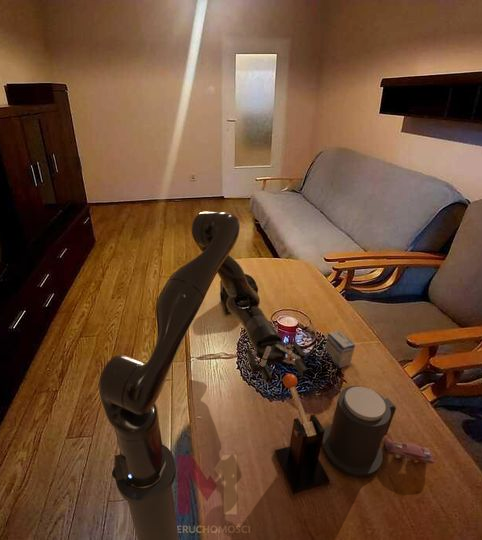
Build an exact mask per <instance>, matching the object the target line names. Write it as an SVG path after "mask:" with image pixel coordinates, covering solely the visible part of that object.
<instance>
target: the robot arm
mask: <svg viewBox="0 0 482 540" xmlns="http://www.w3.org/2000/svg"><path fill="white" fill-rule="evenodd" d="M240 229H241V224H240V220H239V218H238V216H237V215H235V214H233V213H229V212H220V211H219V212H217V211H215V212H214V211H202V212H199V213H197V214H196V215H195V217H194V218H193V221H192V224H191V234H192V235H191V236H192V238H193V241H194V243H195V244H196V245H197V247H198V248H199V250H200V251H201V253H199V254H198V255H197V256H195V257H194V258H192V259H191V260H189V261H188V262H186V263H185V264H183V265H182V266H181V267H179V268H178V269H177V270H175V271H174V272H173V273H172V274H171V275H170V276H169V278H168V279H167V281H166V283H165V284H164V286H163V288H162V290H161V291H160V293H159V295H158V297H157V299H156V305H155V317H156V327H157V328H156V330H157V337H156V343H155V346H154V348H153V350H152V353H151V356H150V357H149V359H148V361H147V362H145V361H143V360H140V359H137V358H135V357H132V356H129V355H126V354H118V355H115V356H113V357H112V358H111V359H109V361H107V362H106V364H105V365H104V367H103V368H102V371H101V373H100V377H99V382H98V383H99V384H98V390H99V396H100V400H101V404H102V406H103V409H104V413H105V415H106V418H107V421H108V422H109V424H110V425H111V426H112V427H113V429H114V432H115V437H116V440H117V444H118V449H119V454H117V455H114V467H113V469H112V471H111V476H112V477H113V479H116V480H117V481H120V480H122V479H125V483H126V486H127V487H128V486H132V487H134V488H137V489H148V488H151V487H153V486H154V485H156V484H157V483H158V482H159V481H160V480H161V479H162V477H163V475H164V473H165V468H166V461H165V459H164V453H163V446H162V444H163V440H162V433H161V425H160V419H159V411H158V407H157V405H156V402H157V400H158V399H159V397H160V395H161V392H162V390H163V387H164V386H165V384H166V381H167V378H168V377H169V373H170V371H171V369H172V366H173V363H174V361H175V358H176V356H177V354H178V351H179V349H180V347H181V345H182V343H183V341H184V338H185V337H186V335H187V333H188V331H189V329H190V327H191V325H192V323H193V321H194V319H195V318H196V315H197V314H198V312H199V310H200V308H201V306H202V305H203V302H204V300H205V298H206V296H207V293H208V292H209V289H210V287H211V285H212V284H213V281H214V280H215V277H216V276H217V275H218V277H219V278H220V281H222V283H223V285H224V287H225V290H226V292H227V293H228V295H229V296H230V297H229V298H228V299H227V308H228V310H229V312H230V313H231V314H230V315H232V316H233V317H234V318H235V319H236V320H238V321H239V322H240V323H241V325H242V327H243V328H244V330H245V332H246V335H247V338H248V340H249V341H250V343H251V345H252V346H253V349H254V351H252V349H249V348H248V349H246V360H247V363H248V365H249V367H250V370H251V372H252V374H256V373H260V374H261V376H262V378H263V380H264V381H265V382H266V383H268V384H270V385H271V384H273V380H274V379H273V376H272V374H271V372H270V370H269V367H268V365H269V364H271V365H273V364H277V363H283V362H284V363H286V364H292V365H293V366H295V369H296V370H297V372H298V374H299V375H300V377H301V378H303V377H305V376H306V374H307V367H306V366H305V364H304V363H305V362H306V356H307V354H306V352H305V351H304V350H303V349H302V348H301V346H300V345H299V344H298V343H297V342H296V340H291V343H289V344H286V343H284V342H283V339H282V338H281V336H280V335H279V333H278V331H277V330H276V329H275V327H274V326H273V324H272V323H271V322H270V320H269V319H268V318H267V316H266V315H265V314H264V312H263V310H262V309H261V308H260V307H259V306H260V305H261V304H260V303H261V298H260V296H259V294H257V293H256V291H255V290H254V289H253V288H252V287H251V286H250V285H249V284H248V282H247V279H246V277H245V274H246V273H245V272H244V269H243V268H242V266H241V265H240V264H239V263H238V261H237V260H235V259H234V258H233V257H232V256H231V255H230V253H231V252H232V250H233V248H234V246H235V245H236V243H237V241H238V239H239V235H240ZM286 356H287V357H286ZM256 357H257V358H258V359H260V360H261V362H260V363H258V362H257V360H256ZM116 480H115V481H116Z"/></svg>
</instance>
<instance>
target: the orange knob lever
mask: <svg viewBox="0 0 482 540" xmlns="http://www.w3.org/2000/svg"><path fill="white" fill-rule="evenodd" d="M298 382H299V381H298V377H297V376H296V375H295V374H293V373H286V374H285V375H284V376H283V377H282V384H283V386H284V387H285V388H287V389H289V390H290V393H291V397H292V398H293V402H294V404H295V407H296V410H297V411H298V412H297V413H298V415H299V419H300V422H301V424H302V426H303V428H304V430H305V432H306V433H307V435H308V436H307V438H311V437H314V436H316V435H317V434H316V431H315V428H314V426H313V423H312V421H311V422H309V420H308V417H307V414H306V412H305V409H304V405H303V404H302V401H301V398H300V395H299V393H298V390H297V388H296V387H297V385H298Z"/></svg>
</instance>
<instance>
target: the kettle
mask: <svg viewBox="0 0 482 540" xmlns="http://www.w3.org/2000/svg"><path fill="white" fill-rule="evenodd" d="M396 410H397V407H396V405H395V404H394V403H393V402H392V401H391V399H390V398H389V397H387V398H384V397H383V396H382V395H381V394H380V393H378V392H377V391H376V390H373V389H371V388H369V387H366V386H361V385H351V386H347V387H344V388H343V389H342V390H341V391H340V392H339V394H338V398H337V401H336V405H335V410H334V413H333V418H332V423H330V424H329V425H328V426H326V428H325V429H324V431H325V432H324V436H323V441H322V445H321V450H322V453H323V455H324V457H325V458H326V460H327V461H328V462H329V464H330V465H331V466H332V467H333V468H334V469H335V470H337V471H338V472H340V473H341V474H343V475H346V476H348V477H350V478H353V479H354V478H355V479H367V478H371V477H373V476H374V475H376V474H377V473H378V472H379V471H380V468H381V466H382V463H383V459H384V454H383V449H382V446H381V445H382V442H383V440H384V438H385V436H387V434H388V432H389V429H390V426H391V423H392V421H393V419H394V415H395V412H396Z"/></svg>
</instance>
